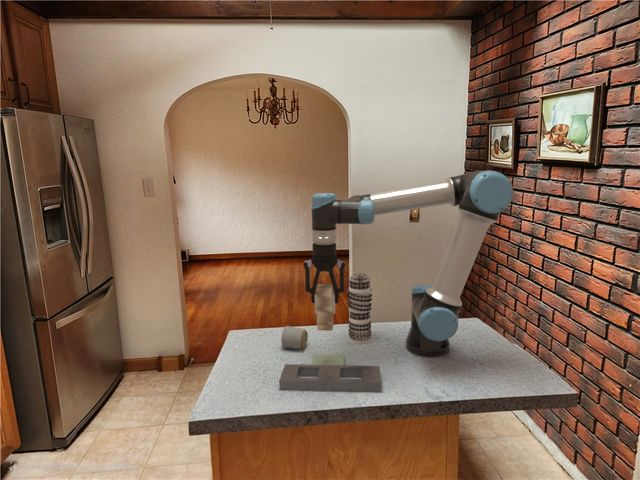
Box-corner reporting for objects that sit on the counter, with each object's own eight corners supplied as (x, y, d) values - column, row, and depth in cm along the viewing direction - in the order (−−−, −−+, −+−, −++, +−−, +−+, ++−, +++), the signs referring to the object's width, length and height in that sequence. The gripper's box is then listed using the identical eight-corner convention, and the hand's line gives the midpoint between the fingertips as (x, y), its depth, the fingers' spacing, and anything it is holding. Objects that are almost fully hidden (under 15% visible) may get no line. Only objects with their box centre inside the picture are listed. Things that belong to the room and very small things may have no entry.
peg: (333, 324, 139) (333, 284, 136) (332, 330, 134) (332, 288, 131) (318, 324, 139) (317, 284, 137) (317, 330, 134) (316, 288, 132)
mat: (344, 355, 144) (344, 354, 144) (343, 371, 133) (343, 370, 133) (312, 355, 145) (312, 354, 145) (309, 371, 134) (309, 369, 134)
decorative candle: (347, 333, 162) (346, 271, 158) (371, 333, 162) (371, 271, 157) (347, 343, 153) (346, 278, 149) (373, 343, 153) (372, 278, 148)
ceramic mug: (303, 352, 147) (302, 332, 146) (281, 350, 149) (280, 330, 148) (311, 341, 157) (310, 321, 156) (290, 339, 159) (290, 320, 158)
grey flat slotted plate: (379, 374, 130) (379, 366, 130) (381, 392, 121) (381, 382, 120) (285, 372, 133) (284, 364, 133) (279, 389, 123) (279, 380, 123)
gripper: (294, 244, 128) (296, 316, 133) (352, 244, 127) (352, 317, 131) (297, 240, 136) (299, 307, 140) (353, 240, 134) (352, 308, 138)
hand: (325, 312), depth 136 cm, fingers closed on peg, 5 cm apart
